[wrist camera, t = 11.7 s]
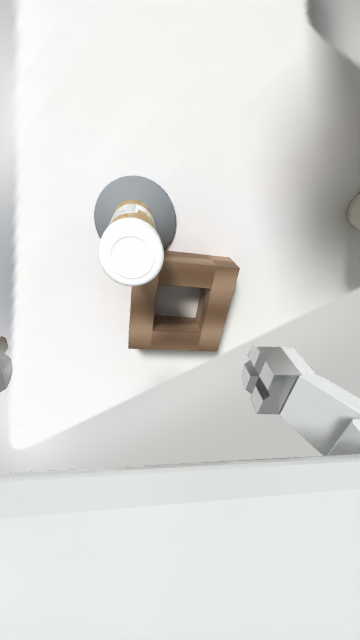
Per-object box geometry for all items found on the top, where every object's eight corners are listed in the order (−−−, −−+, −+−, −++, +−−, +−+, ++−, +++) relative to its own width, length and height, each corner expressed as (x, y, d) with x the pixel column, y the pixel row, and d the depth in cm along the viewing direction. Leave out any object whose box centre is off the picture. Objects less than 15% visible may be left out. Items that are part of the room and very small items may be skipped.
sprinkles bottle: (159, 234, 31) (172, 277, 19) (121, 246, 31) (113, 296, 19) (145, 192, 28) (152, 213, 17) (105, 205, 28) (84, 235, 17)
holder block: (134, 247, 31) (134, 257, 28) (229, 257, 34) (239, 268, 30) (129, 331, 37) (128, 348, 34) (209, 335, 40) (217, 351, 36)
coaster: (94, 169, 27) (93, 169, 26) (180, 183, 28) (181, 183, 28) (95, 255, 31) (94, 256, 31) (169, 263, 33) (170, 264, 33)
